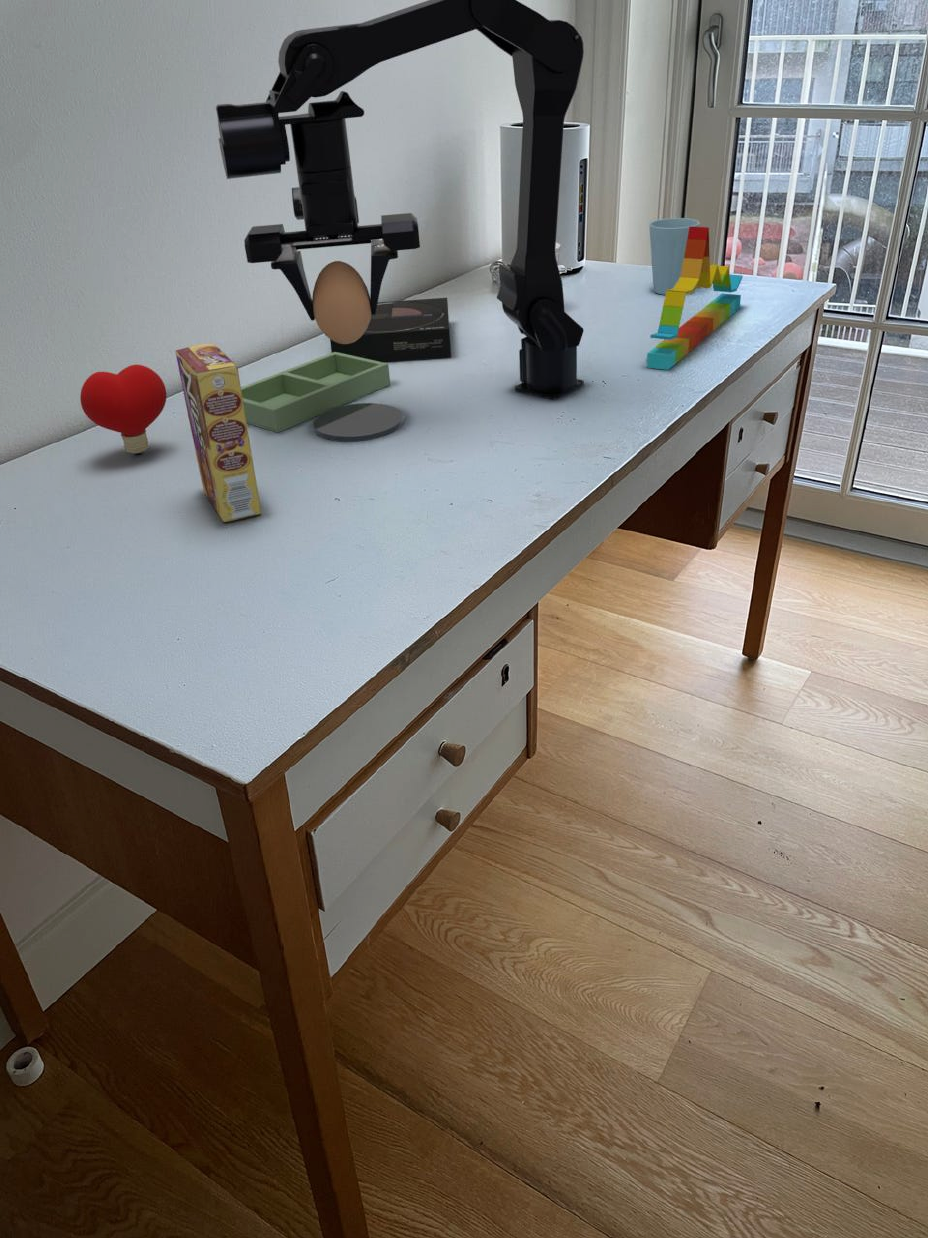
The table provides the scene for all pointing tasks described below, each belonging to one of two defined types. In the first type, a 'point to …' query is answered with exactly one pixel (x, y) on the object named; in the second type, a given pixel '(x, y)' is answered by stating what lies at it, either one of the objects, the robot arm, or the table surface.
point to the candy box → (219, 430)
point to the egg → (341, 303)
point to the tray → (311, 390)
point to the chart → (692, 276)
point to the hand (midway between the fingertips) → (343, 316)
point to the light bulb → (125, 403)
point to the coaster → (358, 422)
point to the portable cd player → (403, 332)
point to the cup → (668, 250)
